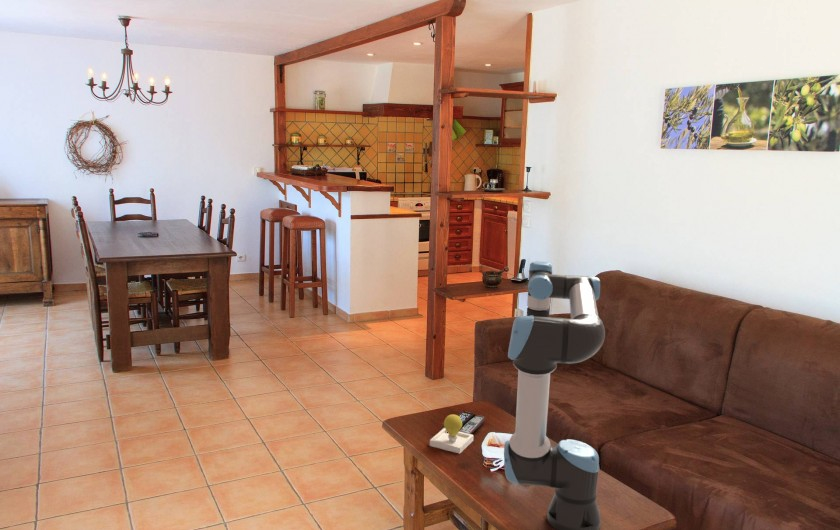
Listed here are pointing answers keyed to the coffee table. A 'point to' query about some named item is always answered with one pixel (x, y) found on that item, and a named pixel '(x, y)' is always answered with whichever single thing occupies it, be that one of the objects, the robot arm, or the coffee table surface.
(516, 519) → the coffee table surface
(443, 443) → the tray
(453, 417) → the light bulb
